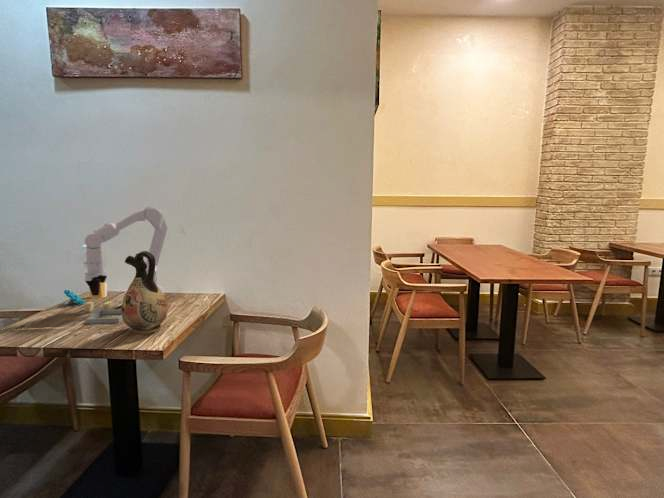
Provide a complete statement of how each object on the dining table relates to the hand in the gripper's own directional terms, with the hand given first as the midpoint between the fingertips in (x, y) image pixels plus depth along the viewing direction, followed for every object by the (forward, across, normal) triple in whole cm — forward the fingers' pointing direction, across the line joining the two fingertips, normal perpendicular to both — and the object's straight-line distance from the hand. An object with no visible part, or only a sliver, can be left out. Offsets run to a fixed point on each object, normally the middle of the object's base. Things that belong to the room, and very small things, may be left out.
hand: (97, 294), depth 169 cm
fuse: (+1, 0, 0) cm, 1 cm away
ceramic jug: (+8, +26, +28) cm, 39 cm away
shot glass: (+8, -25, -10) cm, 28 cm away
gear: (+8, -11, -14) cm, 20 cm away
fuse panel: (+8, 0, 0) cm, 8 cm away
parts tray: (+8, +12, +9) cm, 17 cm away
